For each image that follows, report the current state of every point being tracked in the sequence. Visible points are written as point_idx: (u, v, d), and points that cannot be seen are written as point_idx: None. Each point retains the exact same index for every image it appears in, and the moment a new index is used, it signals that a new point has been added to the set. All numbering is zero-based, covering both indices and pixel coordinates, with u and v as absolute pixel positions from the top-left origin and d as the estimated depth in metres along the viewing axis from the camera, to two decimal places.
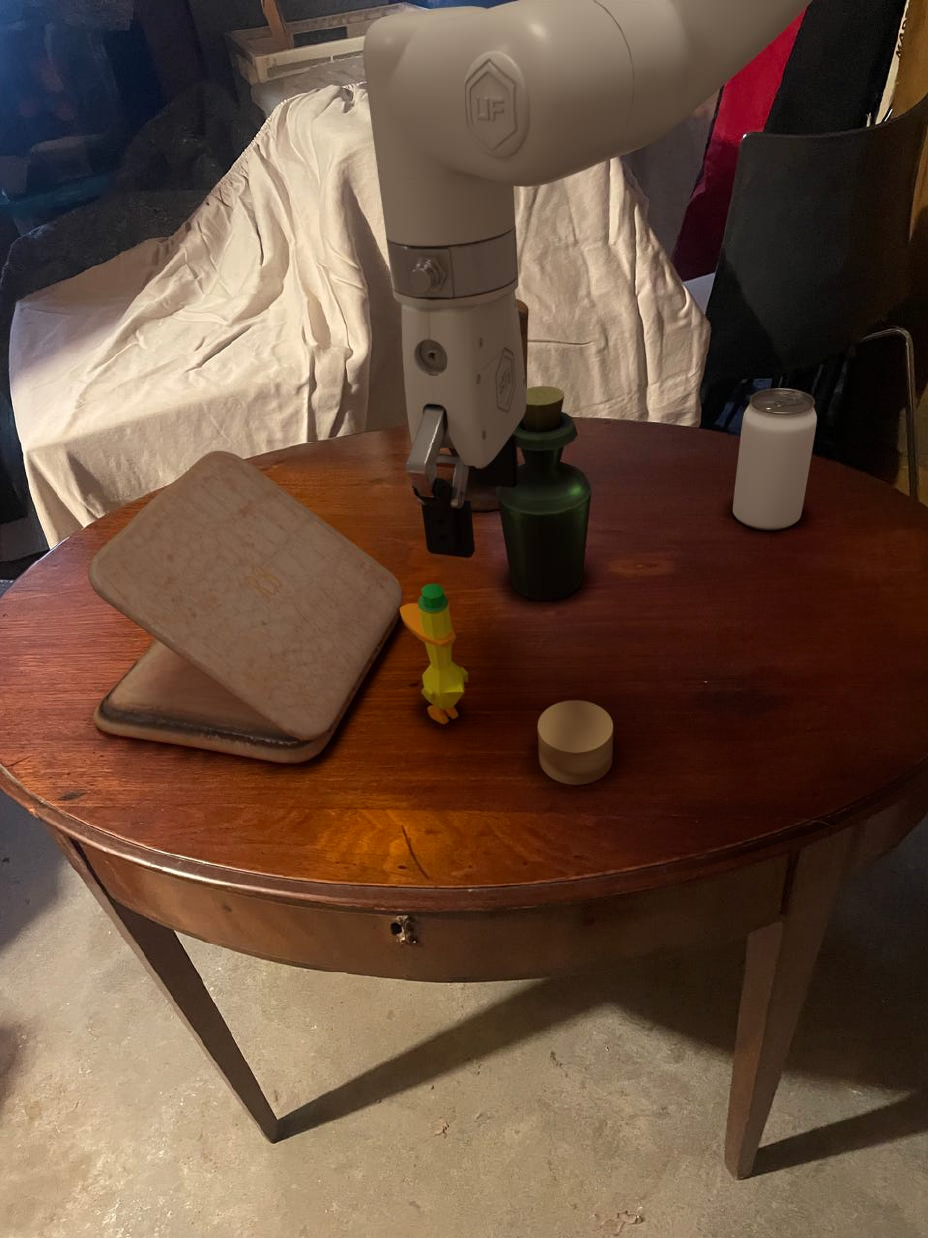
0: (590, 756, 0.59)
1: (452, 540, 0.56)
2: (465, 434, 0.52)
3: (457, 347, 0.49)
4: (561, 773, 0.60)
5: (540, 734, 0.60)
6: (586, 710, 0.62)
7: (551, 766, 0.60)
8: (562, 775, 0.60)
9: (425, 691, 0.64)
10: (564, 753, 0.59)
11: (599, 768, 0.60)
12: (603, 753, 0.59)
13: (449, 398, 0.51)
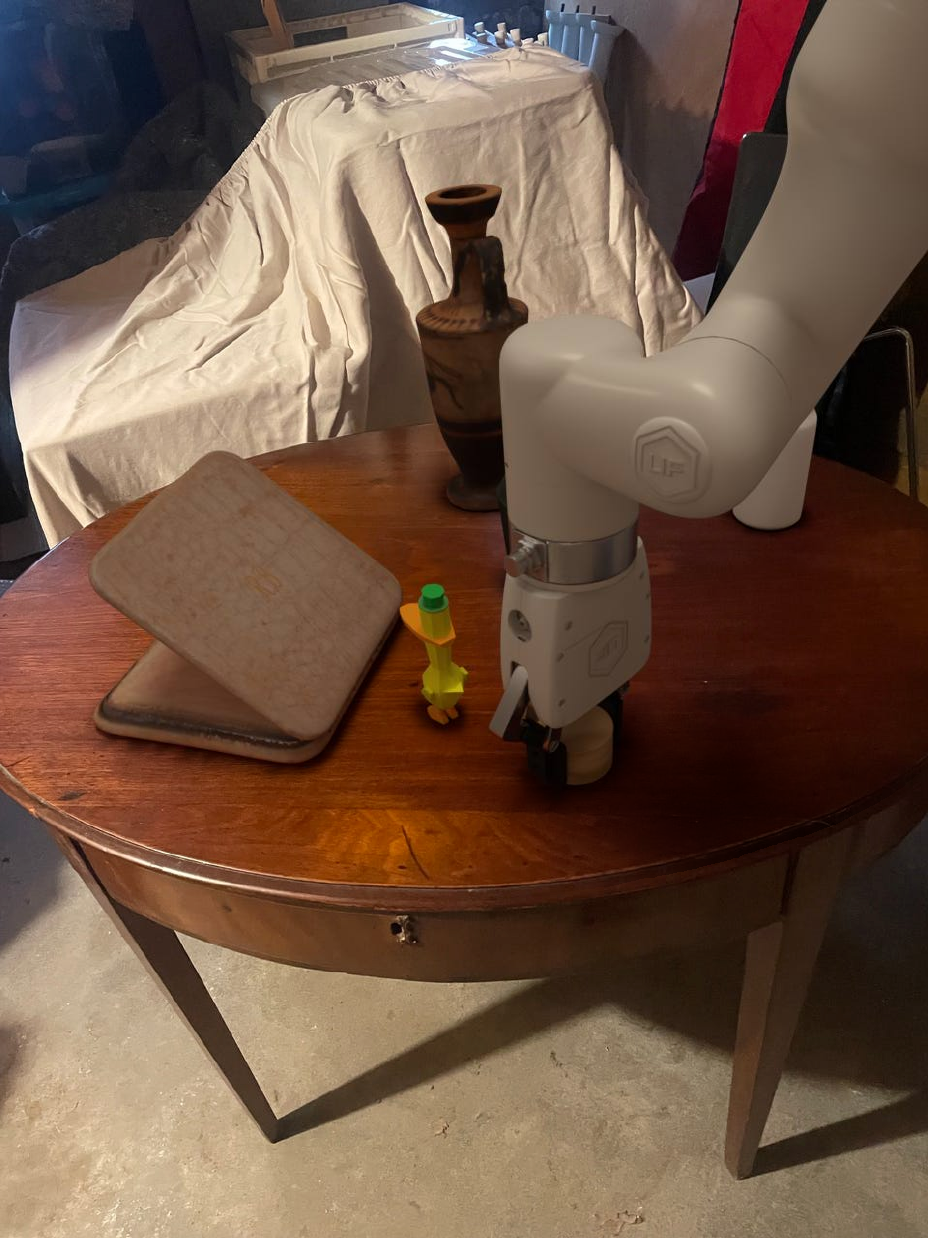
0: (590, 755, 0.59)
1: (543, 773, 0.59)
2: (541, 699, 0.53)
3: (541, 627, 0.50)
4: None
5: None
6: None
7: None
8: None
9: (425, 691, 0.64)
10: None
11: (599, 768, 0.60)
12: (603, 753, 0.59)
13: (530, 665, 0.52)
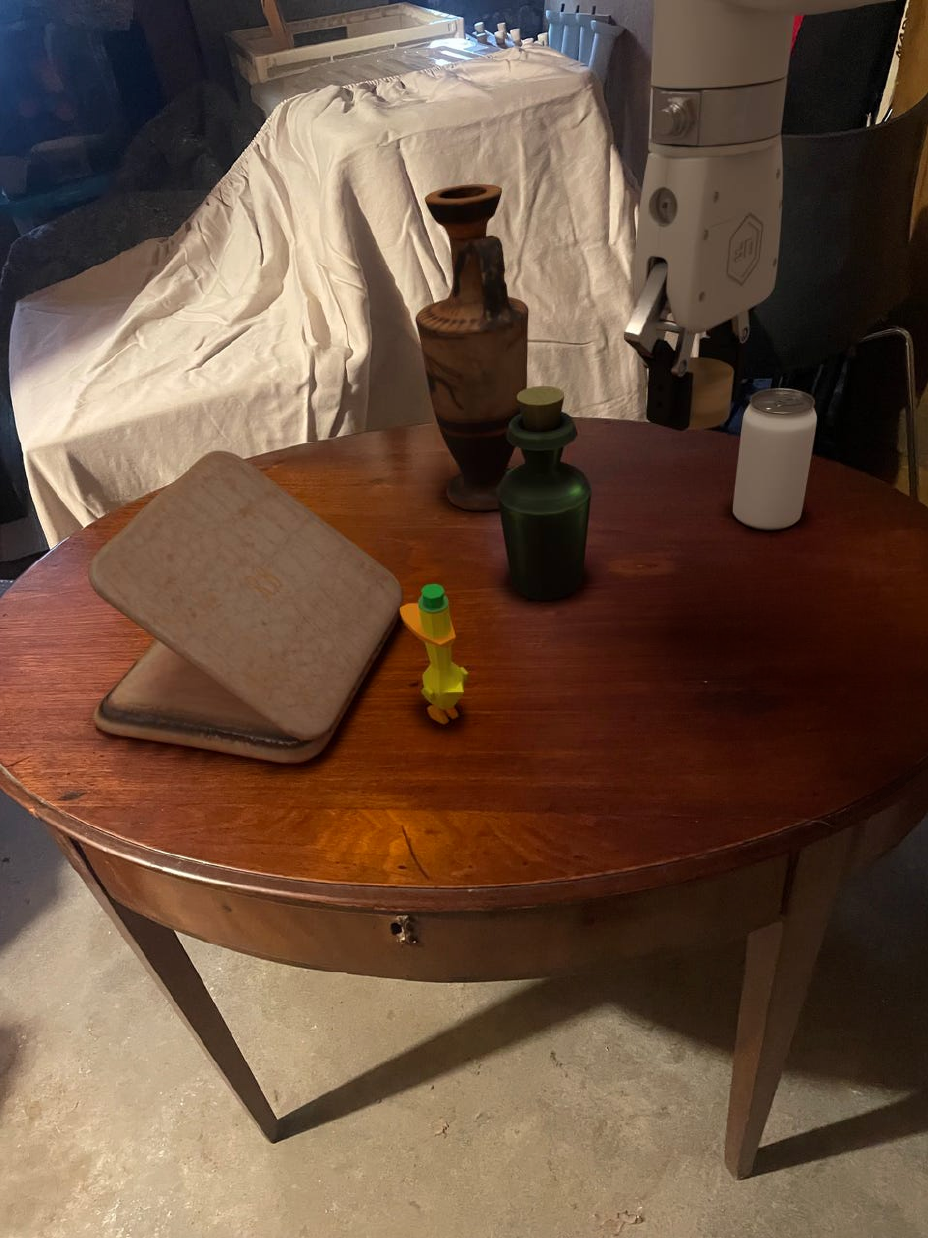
0: (713, 390, 0.58)
1: (667, 409, 0.58)
2: (681, 292, 0.52)
3: (688, 197, 0.50)
4: None
5: None
6: (703, 361, 0.61)
7: None
8: None
9: (425, 691, 0.64)
10: None
11: (720, 410, 0.60)
12: (725, 391, 0.59)
13: (672, 251, 0.52)
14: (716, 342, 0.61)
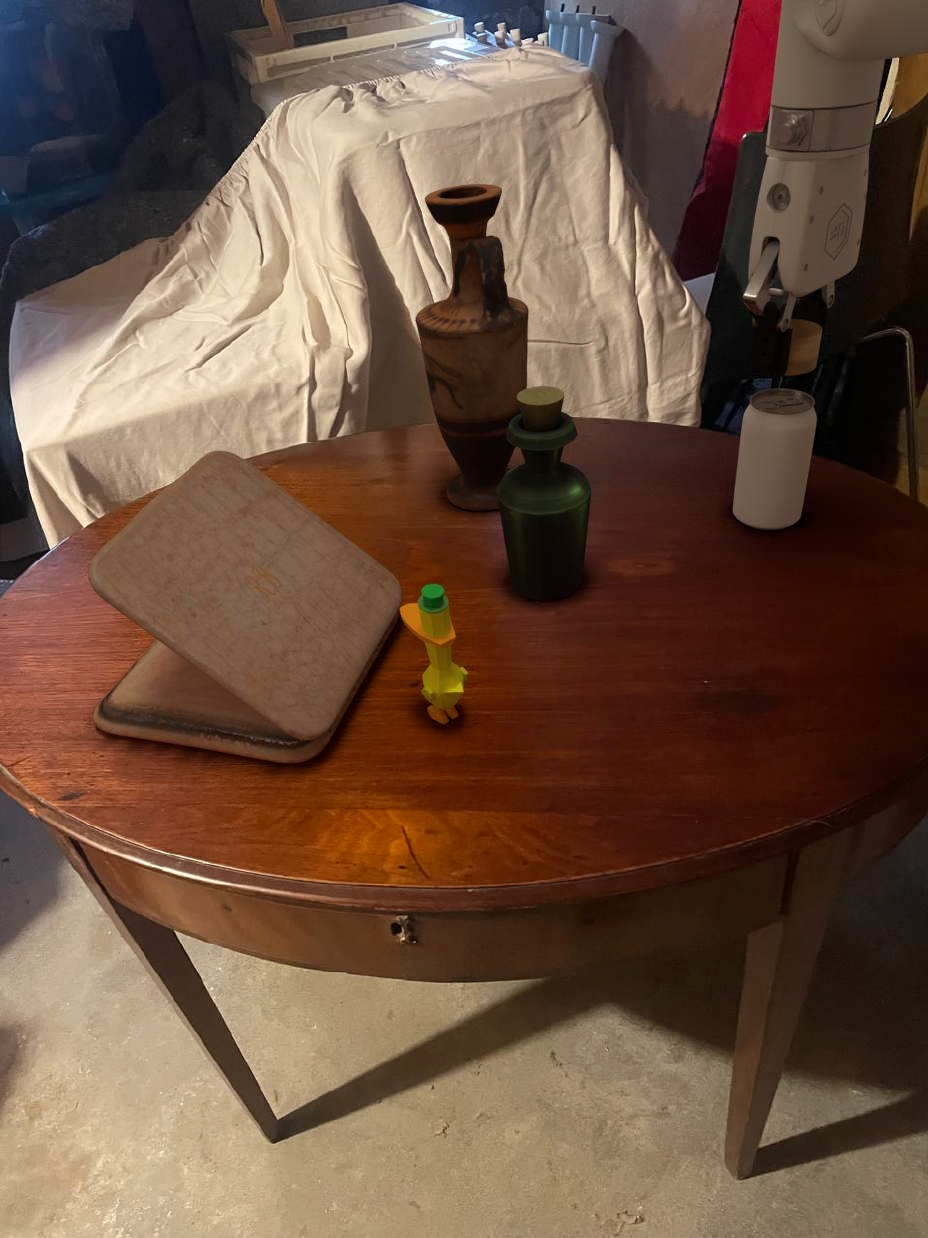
0: (807, 343, 0.74)
1: (770, 358, 0.74)
2: (790, 263, 0.68)
3: (800, 190, 0.65)
4: None
5: None
6: (796, 322, 0.77)
7: None
8: None
9: (425, 691, 0.64)
10: None
11: (811, 360, 0.75)
12: (816, 344, 0.75)
13: (784, 232, 0.67)
14: (807, 307, 0.77)
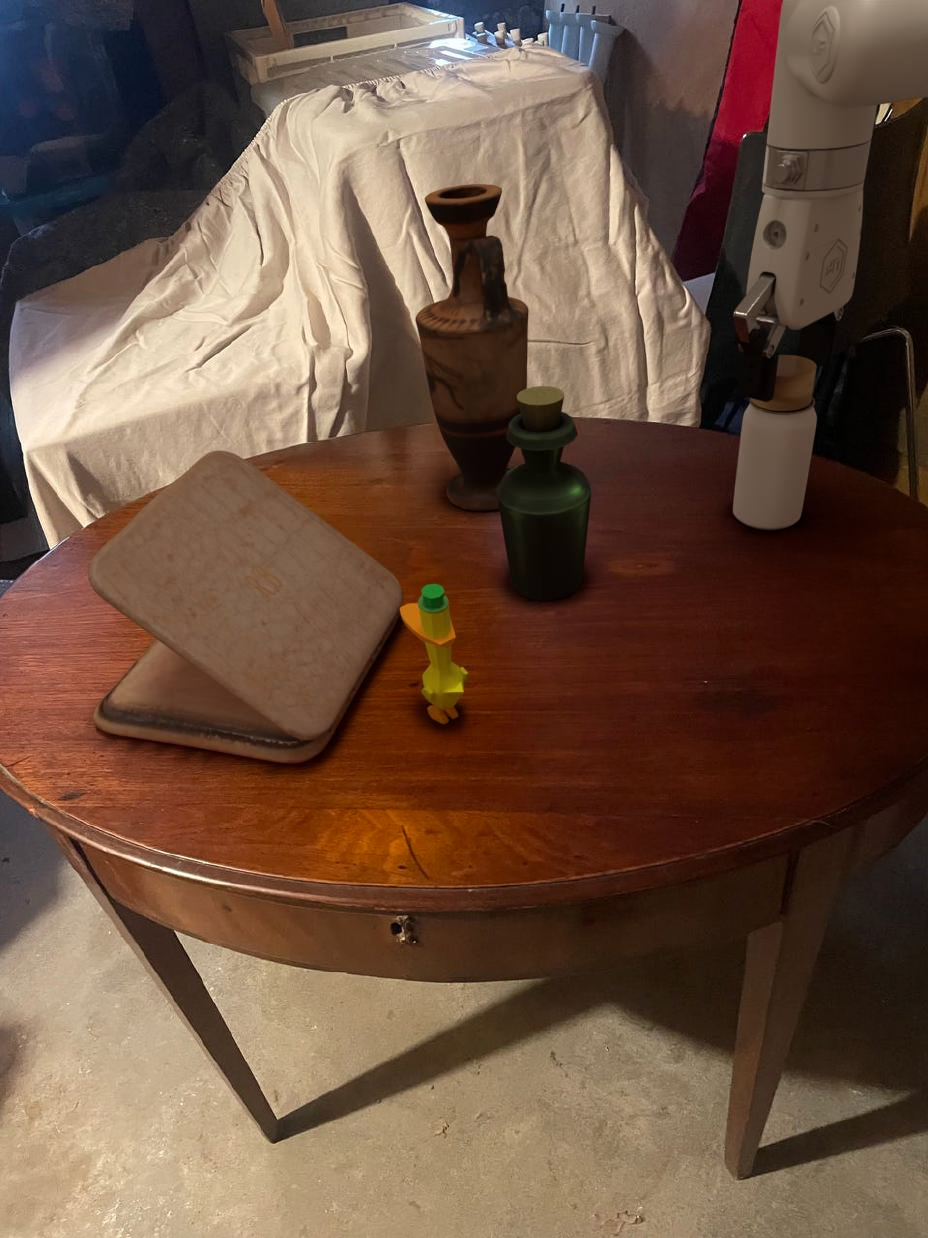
0: (801, 380, 0.76)
1: (757, 384, 0.74)
2: (786, 298, 0.69)
3: (795, 228, 0.67)
4: (776, 400, 0.77)
5: None
6: (791, 358, 0.79)
7: None
8: (776, 402, 0.77)
9: (425, 691, 0.64)
10: (781, 379, 0.76)
11: (805, 396, 0.77)
12: (810, 381, 0.77)
13: (780, 268, 0.69)
14: (817, 320, 0.78)
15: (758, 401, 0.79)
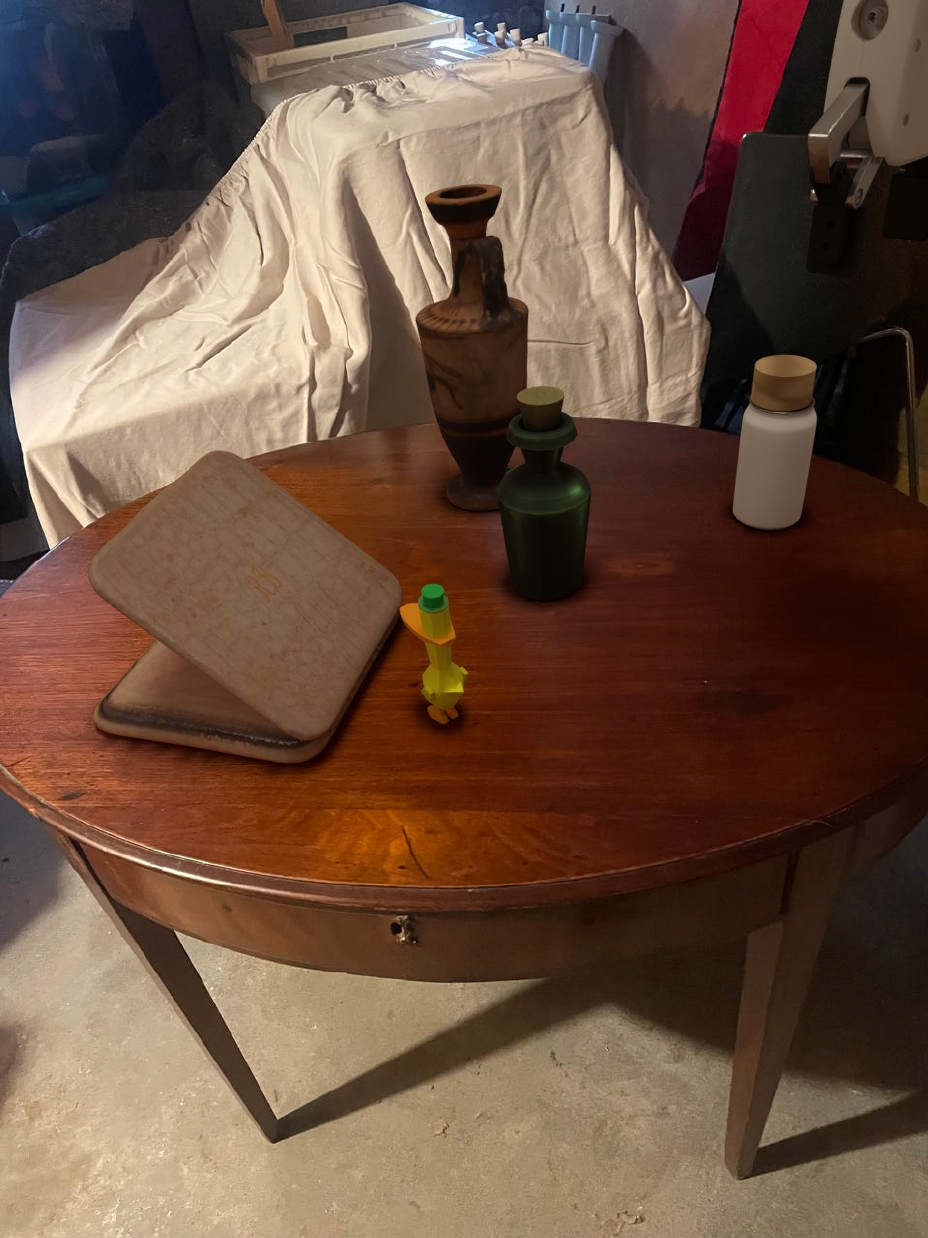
0: (801, 380, 0.76)
1: (836, 250, 0.53)
2: (884, 114, 0.48)
3: (902, 0, 0.46)
4: (776, 400, 0.77)
5: (759, 370, 0.77)
6: (791, 358, 0.79)
7: (767, 396, 0.78)
8: (776, 402, 0.77)
9: (425, 691, 0.64)
10: (781, 379, 0.76)
11: (805, 396, 0.77)
12: (810, 381, 0.77)
13: (877, 68, 0.48)
14: (913, 174, 0.57)
15: (758, 401, 0.79)
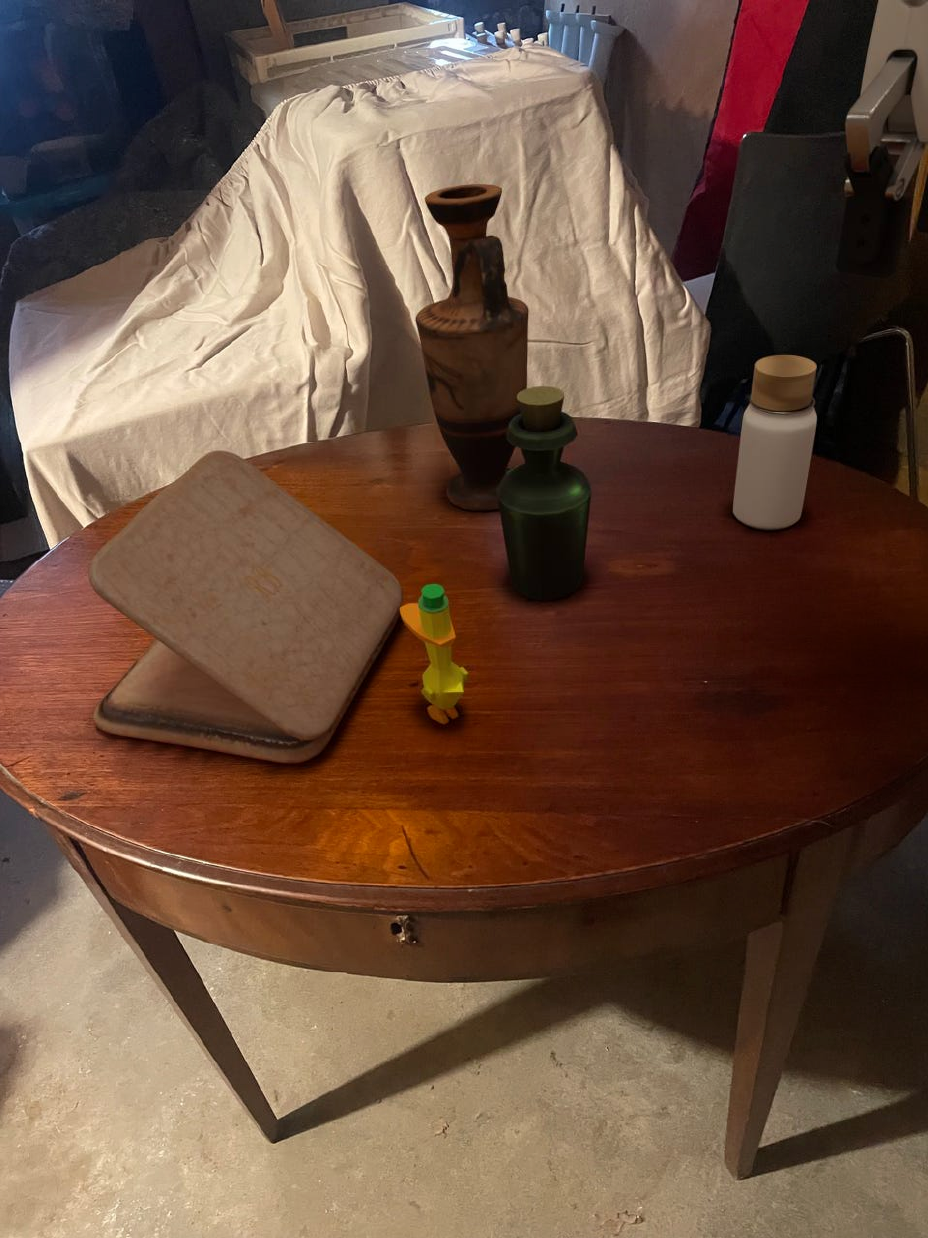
0: (801, 380, 0.76)
1: (872, 247, 0.47)
2: None
3: None
4: (776, 400, 0.77)
5: (759, 370, 0.77)
6: (791, 358, 0.79)
7: (767, 396, 0.78)
8: (776, 402, 0.77)
9: (425, 691, 0.64)
10: (781, 379, 0.76)
11: (805, 396, 0.77)
12: (810, 381, 0.77)
13: (927, 38, 0.42)
14: None
15: (758, 401, 0.79)
